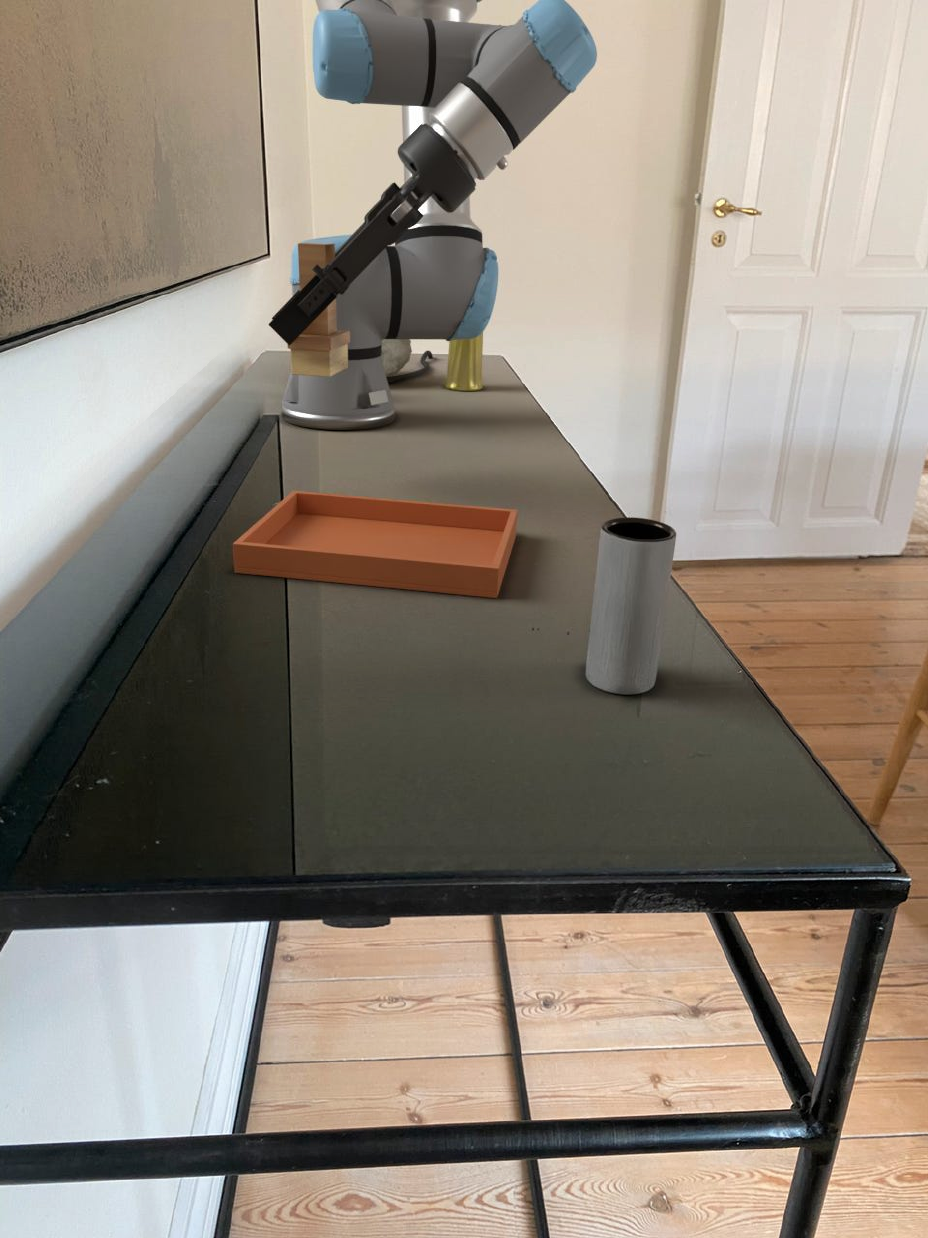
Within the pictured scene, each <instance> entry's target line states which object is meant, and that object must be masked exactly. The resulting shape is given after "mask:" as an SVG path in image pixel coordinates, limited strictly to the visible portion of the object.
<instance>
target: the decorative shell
mask: <svg viewBox="0 0 928 1238" xmlns="http://www.w3.org/2000/svg"><path fill="white" fill-rule="evenodd" d="M411 344H412V339H383V340H382V365H383V368H384V372H385V375H386V378H387V377H392V376H394V375H396V374H397V373H399V372H400V371H401V370H402V369H404V367H405V366H406V365H407V363H409V361H410V359H411V355H412V352H413V349H412V345H411Z"/></svg>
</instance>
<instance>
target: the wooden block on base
mask: <svg viewBox="0 0 928 1238" xmlns="http://www.w3.org/2000/svg"><path fill="white" fill-rule="evenodd" d="M297 244H298V262H299V288H300V291H301V290H302V289H303V288H304V286H305V285H306V284H307V283H308V282H309V281H310V280H311V279H312V278H313V277H314V276H315V275H316V273H315V272H314V271H313V270H312V269H313V268H314V267H315V266H316V265H317V264H318V265H319V267H320V268H321V269H322V268H325V266H326V265H327V264H329V263H330V262H331V261H332V260H333V259H334V258H335V244H334V243H313V242H306V243H300V242H298V243H297ZM317 276H318V275H317ZM334 294H335V293H334ZM335 295H336V294H335ZM348 343H350V331H348V330H337V317H336V298H335V299H334V300H333V302H332V303H331V304H330V305H329V306H328V307H327V308H326V309H325V310H324V311H323V312H322V313H321V314H320V315H319V316H318V317H317V318H316V319H315V320H314V321H313V322H312V323H311V324H310V325H309V326H308V327H307V328H306V329H305V330H304V331H303V332H302V333H301V335H300V336H299V337H298V338H297V339H296V340H295V341H294V342H293V343H292V344H291V345H290V346H289V345H288V344H287V343H286V344H287V349H288V350H290V367H291V368H290V372H292V375H307V376H323V377H331V376H333V375H335V374H336V373H338V372H340V371H342V370H344V369H346V368H348Z"/></svg>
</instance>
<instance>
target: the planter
mask: <svg viewBox="0 0 928 1238" xmlns="http://www.w3.org/2000/svg"><path fill="white" fill-rule="evenodd" d="M676 542H677V531H676V529H674V528H673V527H672V526H670V525H669V524H668V523H664V522H662V521H658V520H655V519H651V518H644V517H633V516H631V517H629V516H627V517H616V518H611V519H608V520H606V521H604V522H603V523H601V526H600V533H599V542H598V550H597V562H596V571H595V578H594V579H595V580H594V587H593V599H592V605H591V606H592V607H591V616H590V626H589V634H588V644H587V653H586V654H587V655H586V663H585V677H586V680H587V681H588V682H589V683H590V684H591V685H592V686H593V687H596V688H597V689H599V690H602V691H605V692H608V693H612V694H616V695H627V696H628V695H639V694H644V693H646V692H648V691H650V690H651V689H652V688H654V686H655V685H656V679H657V674H658V668H659V661H660V653H661V647H662V639H663V633H664V627H665V626H664V625H665V620H666V619H665V618H666V611H667V604H668V597H669V591H670V584H671V583H670V582H671V577H672V570H673V563H674V556H675V550H676V549H675V548H676Z"/></svg>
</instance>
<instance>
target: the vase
mask: <svg viewBox="0 0 928 1238" xmlns="http://www.w3.org/2000/svg"><path fill="white" fill-rule="evenodd" d="M483 345H484V331H483V332H482V333H481V334H480V335H479V336H478V337H476V338H473V339H457V340H452V341H448V354H447V368H446V369H447V370H446V380H445V384H444V386H445V388H446V389H448V390H451V391H457V392H458V391H459V392H477V391H481V390H482V389H483V355H484V353H483V351H484V350H483V347H484V346H483Z"/></svg>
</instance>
